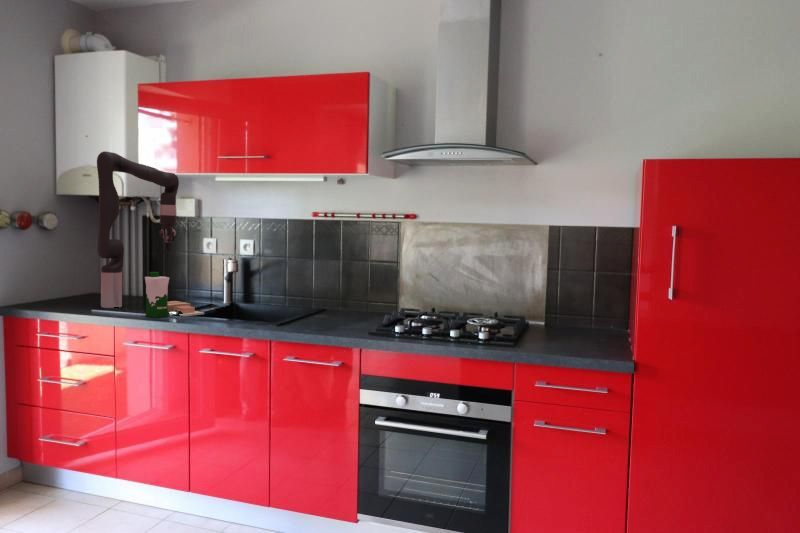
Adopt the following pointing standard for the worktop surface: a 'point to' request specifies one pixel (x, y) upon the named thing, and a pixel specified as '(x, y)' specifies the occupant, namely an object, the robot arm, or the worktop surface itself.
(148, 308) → the milk carton
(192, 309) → the tile
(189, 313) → the mat
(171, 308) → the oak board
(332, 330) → the worktop surface
